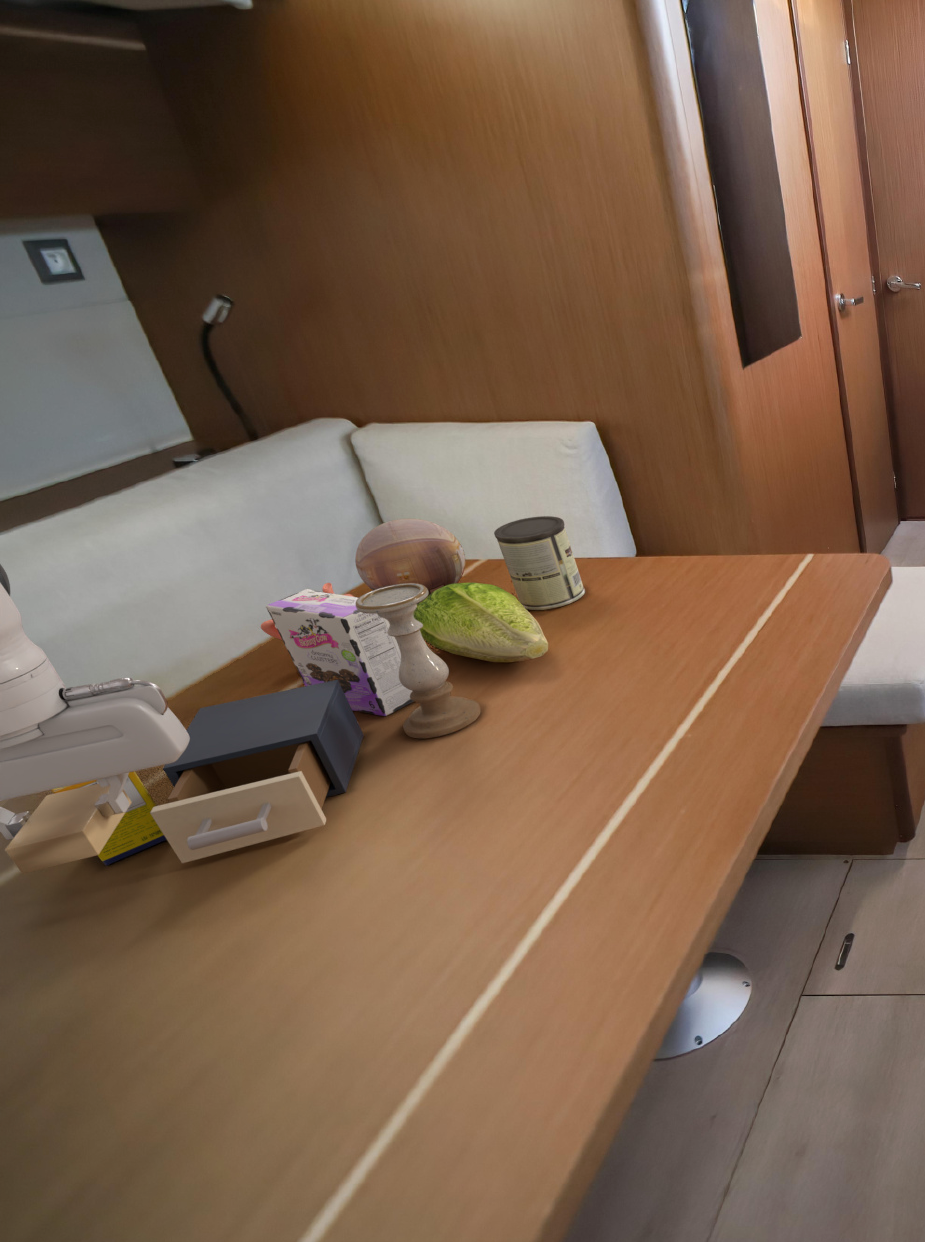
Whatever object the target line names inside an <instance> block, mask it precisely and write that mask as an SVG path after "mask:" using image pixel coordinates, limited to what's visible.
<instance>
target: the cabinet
mask: <svg viewBox="0 0 925 1242" xmlns="http://www.w3.org/2000/svg"><path fill="white" fill-rule="evenodd" d="M186 731H187V733H188V734H189V737H190V740H189V743H188V746H187V748H186V749H185V751H184V752H183V753H182V755H181V756H180V757H179V759H178V760H177V761H175V762H173V763H170V764H165V765H163V767H162V770H163V773H165V775H166V777H167V778H168V780H169V782H170V784H171V785H172V786H173V788H174V787H175V785H176V784H177V782H178V780H179V778H180V777H181V775H182V773H183V772H184V770H186V769H190V768H194V767H199V766H203V765H207V764H212V763H216V762H220V761H224V760H229V759H233V758H237V757H242V756H246V755H250V754H255V753H259V752H263V751H268V750H272V749H276V748H281V747H285V746H289V745H294V744H298V743H302V742H307V741H311V742H312V744H313V745H314V747H315V749H316V751H317V753H318V755H319V757H320V759H321V761H322V763H323V765H324V767H325V769H326V771H327V773H328V775H329V777H330V779H331V783H330V786H329V789H328V792H327V795H326V798H330V797H333V796H337V795H340V794H345V793H346V792H347V790H348V786H349V784H350V780H351V777H352V774H353V770H354V768H355V764H356V761H357V758H358V755H359V751H360V748H361V745H362V743H363V738H364V735H365V734H364V732H363V730H362V728H361V726H360V724H359V722H358V720H357V717H356V715H355V714H354V710H352V709H351V707H350V705H349V703H348V700H347V698H346V696H345V694H344V692H343V690H342V688H341V686H340V683H339V681H338V680H333V681H328V682H324V683H319V684H314V685H309V686H305V685H304V686H300V687H294V688H290V689H285V690H280V691H276V692H271V693H265V694H262V695H257V696H252V697H248V698H243V699H237V700H233V701H228V702H223V703H218V704H213V705H209V706H204V707H200V708H199V709H198V711H197V712H196V713H195V716H194V717H193V719H192V721H191V722H190V724H189V725H188V727H187V729H186Z"/></svg>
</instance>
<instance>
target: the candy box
mask: <svg viewBox="0 0 925 1242" xmlns="http://www.w3.org/2000/svg"><path fill="white" fill-rule="evenodd" d="M352 596H353V595H352ZM352 596H345V594H339V593H334V594H333V593H325V592H323V591H318V590H313V589H309V588H306V589H304V590H301V591H299V592H295V593H293V594H290V595H288V596H286V597H284V598H281V599H278V600H276V601H274V602H271V603H269V604H267V605H265V608H266V610H267V612H268V614H269V616H270V618H271V619H272V620H273V622H274V624H275V627H276V628H277V630H278V632H279V634H280V636H281V638H282V640H283V641H282V640H281V641H282V642H283V645H284V646H285V648H286V650H287V652H288V655H289V656H290V658H291V660H292V662H293V664H294V666H295V669H296V670H297V672H298V674H299V676H300V678H301V680H302V683H303V684H304V686H309V685H314V684H319V683H324V682H328V681H333V680H338V681H339V683H340V686H341V688H342V690H343V692H344V694H345V696H346V698H347V700H348V703H349V705H350V707H351V709H352V711H353V712H360V713H365V714H370V715H376V716H381V717H387V716H389V715H391V714H393V713H394V712H397V711H398V710H400V709H402V708H404V707H406V706H407V705H410V704H412V703H414V702H415V701H413V700H411V698H410V694H411V692H412V690H409V689H407V688H405V687H404V686H403V685H402V684H401V683H400V681H399V667H400V662H401V653H400V650H399V647H398V644H397V641H396V639H395V637H394V636H389V635H388V634H387V631H388V629H389V626H390V624H389V622H388V621H387V620H386V619H384V618H382V617H379V616H378V615H377V614H368V613H362V612H360V611H358V610H357V609H356V606H355V603H356V600H357V599H358V598H359V597H357V596H353V597H352Z"/></svg>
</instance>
